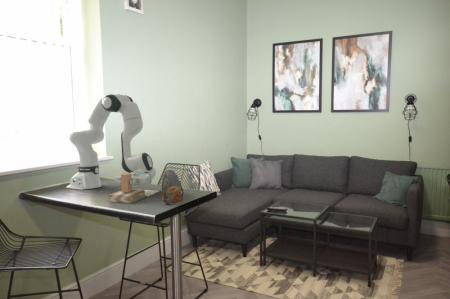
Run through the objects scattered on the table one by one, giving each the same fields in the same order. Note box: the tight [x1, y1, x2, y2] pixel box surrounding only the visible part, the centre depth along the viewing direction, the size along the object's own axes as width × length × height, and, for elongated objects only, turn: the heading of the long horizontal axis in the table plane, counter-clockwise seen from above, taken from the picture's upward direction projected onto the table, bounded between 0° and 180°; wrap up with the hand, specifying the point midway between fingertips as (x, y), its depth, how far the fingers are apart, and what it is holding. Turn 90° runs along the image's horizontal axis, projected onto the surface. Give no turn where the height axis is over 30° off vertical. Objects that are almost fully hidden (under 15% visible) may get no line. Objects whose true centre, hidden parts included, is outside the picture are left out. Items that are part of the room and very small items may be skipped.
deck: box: [108, 189, 146, 204], centre depth 207 cm, size 14×14×4 cm
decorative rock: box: [160, 169, 183, 192], centre depth 215 cm, size 16×7×15 cm, turn 150°
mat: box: [144, 189, 160, 197], centre depth 222 cm, size 16×14×1 cm
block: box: [120, 172, 133, 193], centre depth 206 cm, size 4×4×10 cm
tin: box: [162, 185, 184, 205], centre depth 198 cm, size 15×3×8 cm, turn 149°
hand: (125, 182), depth 205 cm, fingers closed on block, 4 cm apart
